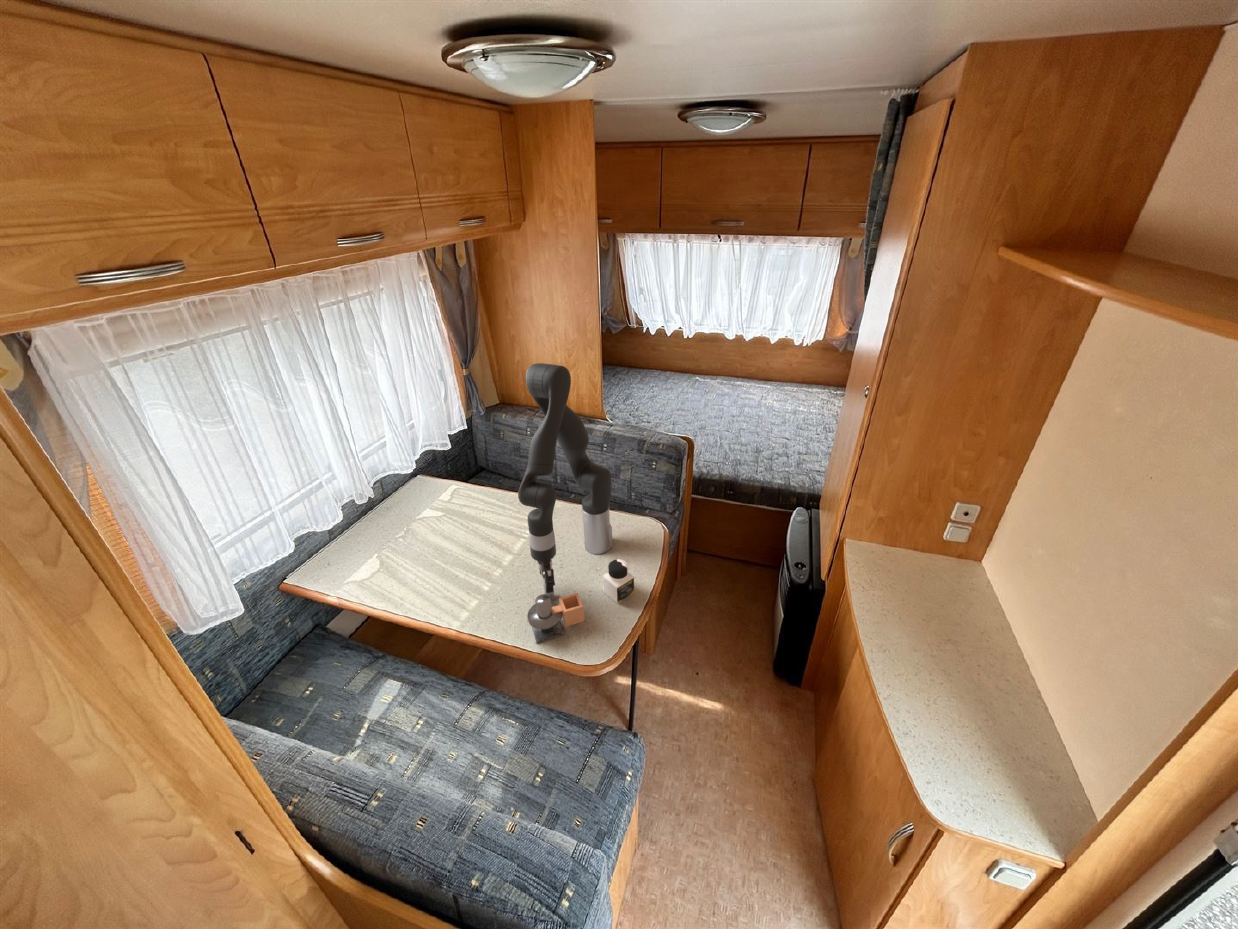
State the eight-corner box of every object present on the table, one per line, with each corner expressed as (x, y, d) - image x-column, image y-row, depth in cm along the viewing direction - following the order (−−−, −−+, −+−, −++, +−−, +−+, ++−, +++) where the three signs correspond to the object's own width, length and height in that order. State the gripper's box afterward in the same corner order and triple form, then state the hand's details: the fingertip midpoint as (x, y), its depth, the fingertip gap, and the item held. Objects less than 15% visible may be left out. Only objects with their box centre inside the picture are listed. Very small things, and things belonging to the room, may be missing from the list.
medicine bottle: (617, 604, 160) (616, 575, 154) (603, 592, 164) (601, 563, 158) (634, 593, 164) (634, 564, 157) (619, 581, 168) (619, 553, 162)
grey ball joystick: (558, 612, 157) (555, 583, 151) (567, 636, 149) (564, 607, 143) (526, 621, 154) (522, 592, 148) (533, 647, 146) (529, 617, 140)
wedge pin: (553, 592, 164) (550, 567, 159) (556, 599, 162) (553, 573, 156) (544, 595, 164) (540, 569, 158) (546, 602, 161) (543, 576, 155)
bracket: (578, 607, 156) (577, 592, 153) (584, 621, 152) (583, 606, 149) (550, 615, 154) (548, 601, 151) (555, 629, 149) (553, 615, 146)
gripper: (560, 553, 146) (564, 595, 155) (549, 525, 158) (553, 565, 166) (534, 559, 144) (539, 601, 152) (525, 530, 156) (530, 570, 164)
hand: (546, 582), depth 159 cm, fingers open, 8 cm apart
